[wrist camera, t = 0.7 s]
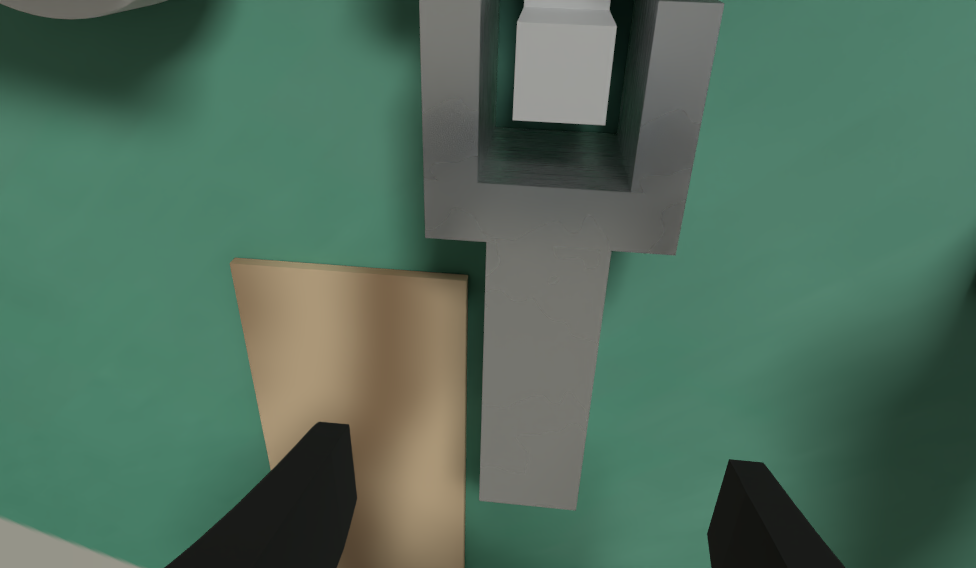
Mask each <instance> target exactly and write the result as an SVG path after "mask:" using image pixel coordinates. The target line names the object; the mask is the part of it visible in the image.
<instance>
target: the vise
mask: <svg viewBox="0 0 976 568" xmlns="http://www.w3.org/2000/svg"><path fill="white" fill-rule="evenodd" d="M610 1H611V0H524V8H523V10H522V12H521V14H520V17H519V19H518V21H517V35H516V57H515V79H514V101H513V120H517V121H536V122H554V123H572V124H590V125H605V122H606V114H607V105H608V97H609V88H610V80H611V72H612V63H613V55H614V46H615V38H616V29H617V26H616V23H615V21H614V19H613V17H612V15H611V12H610Z"/></svg>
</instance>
